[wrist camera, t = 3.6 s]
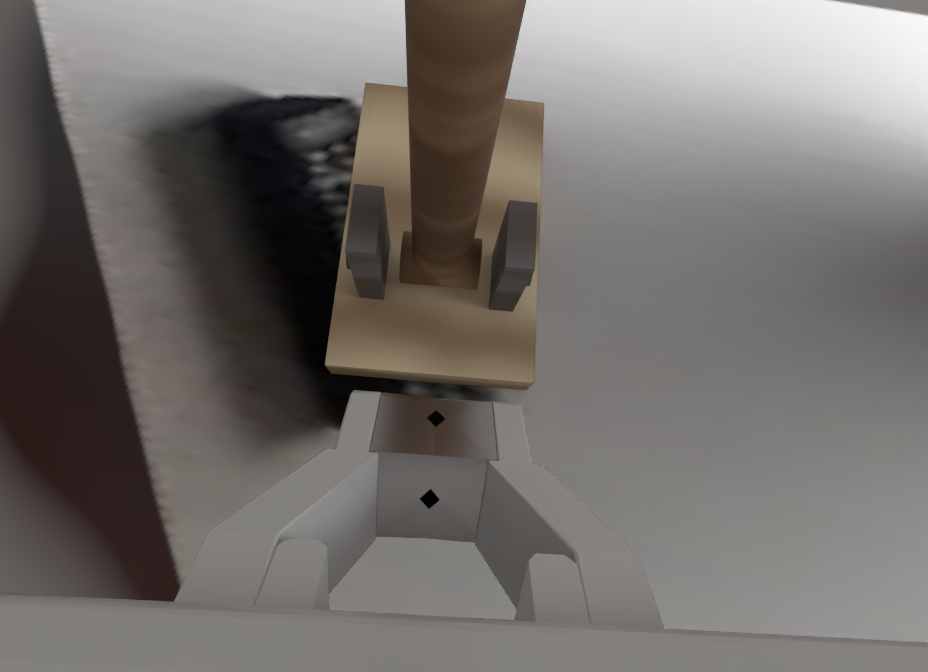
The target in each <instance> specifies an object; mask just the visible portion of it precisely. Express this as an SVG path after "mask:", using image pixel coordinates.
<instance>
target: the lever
mask: <svg viewBox="0 0 928 672" xmlns="http://www.w3.org/2000/svg"><path fill="white" fill-rule="evenodd" d="M525 3H526V0H405V18H406V52H407V86H408V119H409V153H410V186H411V220H412V232H410V231H404V232H403V237H402V244H401V254H400V269H399V281H400V283H408V284H418V285H429V286H440V287H450V288H461V289H471V290H477V288H478V283H479V276H480V268H481V257H482V239H480V238H474V236H475V232H476V227H477V223H478V218H479V214H480V209H481V204H482V200H483V195H484V191H485V186H486V182H487V177H488V172H489V168H490V163H491V159H492V154H493V150H494V145H495V140H496V136H497V131H498V127H499V122H500V118H501V113H502V109H503V104H504V99H505V95H506V90H507V86H508V81H509V77H510V72H511V67H512V63H513V58H514V54H515V49H516V45H517V40H518V35H519V31H520V26H521V22H522V17H523V13H524V8H525Z"/></svg>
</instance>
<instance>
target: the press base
mask: <svg viewBox="0 0 928 672" xmlns="http://www.w3.org/2000/svg"><path fill="white" fill-rule="evenodd" d="M543 121H544V103H539V102H530V101H521V100H513V99H504V104H503V109H502V113H501V118H500V122H499V127H498V131H497V136H496V140H495V145H494V150H493V154H492V159H491V163H490V168H489V172H488V177H487V182H486V186H485V191H484V195H483V200H482V204H481V209H480V214H479V218H478V223H477V227H476V232H475V236H474V238H480V239H482V257H481V268H480V276H479V283H478V288H477V290H471V289H461V288H450V287H440V286H429V285H418V284H408V283H400V281H399V269H400V254H401V244H402V237H403V232H404V231H410V232H412V220H411V186H410V153H409V119H408V87H399V86H391V85H382V84H373V83H365V89H364V96H363V103H362V110H361V117H360V124H359V131H358V138H357V145H356V152H355V159H354V166H353V173H352V179H351V186H350V193H349V200H348V207H347V214H346V221H345V228H344V235H343V242H342V249H341V256H340V263H339V270H338V277H337V284H336V291H335V298H334V305H333V311H332V318H331V325H330V332H329V339H328V346H327V353H326V360H325V366H326V367H327V369H328V370H329V371H330V372H331V374H343V375H355V376H366V377H378V378H390V379H402V380H414V381H425V382H437V383H449V384H461V385H473V386H484V387H496V388H508V389H520V390H527V389H528V388H529V387H530V386H531V385H532V384H533V383H534V367H535V340H536V313H537V285H538V258H539V230H540V203H541V176H542V148H543Z"/></svg>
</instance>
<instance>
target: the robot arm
mask: <svg viewBox="0 0 928 672" xmlns="http://www.w3.org/2000/svg"><path fill="white" fill-rule="evenodd" d="M376 536H377V537H406V538H429V539H440V540H451V541H462V542H474V543H476V544H475V545H476V547H477V548H478V550H479V552H480V553H481V555H482V556H483V558H484V559H485V561H486V562H487V564H488V566H489V567H490V569H491V570H492V572H493V573H494V575H495V576H496V578H497V580H498V581H499V583H500V584H501V586H502V587H503V589H504V590H505V592H506V593H507V595H508V597H509V598H510V600H511V601H512V603H513V604H514V606H515V607H516V609H517V611H516V615H515V619H514V620H501V619H482V618H464V617H445V616H426V615H408V614H389V613H370V612H352V611H333V610H329V595H328V594H329V593H330V592H331V591H332V590H333V588H334V587H335V586H336V585H337V584H338V583H339V581H340V580H341V579H342V578H343V577H344V576H345V574H346V573H347V572H348V571H349V570H350V569H351V567H352V566H353V565H354V564H355V563H356V562H357V560H358V559H359V558H360V557H361V556H362V555H363V553H364V552H365V551H366V550H367V549H368V548H369V546H370V545H371V544H372V543H373V542H374V541H375V538H376ZM0 672H928V643H925V642H907V641H888V640H870V639H851V638H833V637H814V636H796V635H777V634H758V633H739V632H720V631H701V630H682V629H664V626H663V623H662V620H661V617H660V615H659V612H658V609H657V606H656V603H655V600H654V597H653V594H652V591H651V588H650V586H649V583H648V580H647V577H646V574H645V571H644V568H643V565H642V562H641V559H640V557H638V556H637V555H636V554H635V553H634V552H633V551H632V550H631V549H630V548H629V547H628V546H627V545H626V544H625V543H624V542H622V541H621V540H620V539H619V538H618V537H617V536H616V535H615V534H614V533H613V532H612V531H611V530H610V529H609V528H607V527H606V526H605V525H604V524H603V523H602V522H601V521H600V520H599V519H598V518H597V517H596V516H595V515H594V514H593V513H591V512H590V511H589V510H588V509H587V508H586V507H585V506H584V505H583V504H582V503H581V502H580V501H579V500H578V499H577V498H575V497H574V496H573V495H572V494H571V493H570V492H569V491H568V490H567V489H566V488H565V487H564V486H563V485H562V484H560V483H559V482H558V481H557V480H556V479H555V478H554V477H553V476H552V475H551V474H550V473H549V472H548V471H547V470H546V469H544V468H543V467H542V466H541V465H540V464H532V463H531V457H530V452H529V446H528V440H527V434H526V429H525V423H524V417H523V412H522V406H521V405H520V403H518V402H496V401H492V402H484V401H469V400H454V399H438V398H434V397H424V396H414V395H403V394H393V393H380V392H371V391H358V390H354V391H353V392H352V393H351V394H350V398H349V401H348V405H347V408H346V411H345V415H344V418H343V421H342V425H341V428H340V431H339V435H338V438H337V442H336V445H335V448H334V449H325V450H323V451H322V452H321V453H319V454H318V455H316V456H315V457H313V458H312V459H311V460H309V461H308V462H306V463H305V464H304V465H302V466H301V467H299V468H298V469H296V470H295V471H294V472H292V473H291V474H289V475H288V476H286V477H285V478H284V479H282V480H281V481H279V482H278V483H276V484H275V485H274V486H272V487H271V488H269V489H268V490H267V491H265V492H264V493H262V494H261V495H259V496H258V497H257V498H255V499H254V500H252V501H251V502H249V503H248V504H247V505H245V506H244V507H242V508H241V509H240V510H238V511H237V512H235V513H234V514H232V515H231V516H230V517H228V518H227V519H225V520H224V521H222V522H221V523H220V524H218V525H217V526H215V527H214V528H212V529H211V530H210V531H209V533H208V535H207V537H206V539H205V541H204V543H203V545H202V547H201V549H200V551H199V553H198V555H197V557H196V559H195V561H194V563H193V565H192V567H191V569H190V571H189V573H188V575H187V577H186V579H185V581H184V583H183V585H182V587H181V589H180V590H179V592H178V594H177V596H176V599H175V600H174V602H166V601H146V600H129V599H109V598H92V597H72V596H54V595H35V594H17V593H0Z"/></svg>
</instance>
